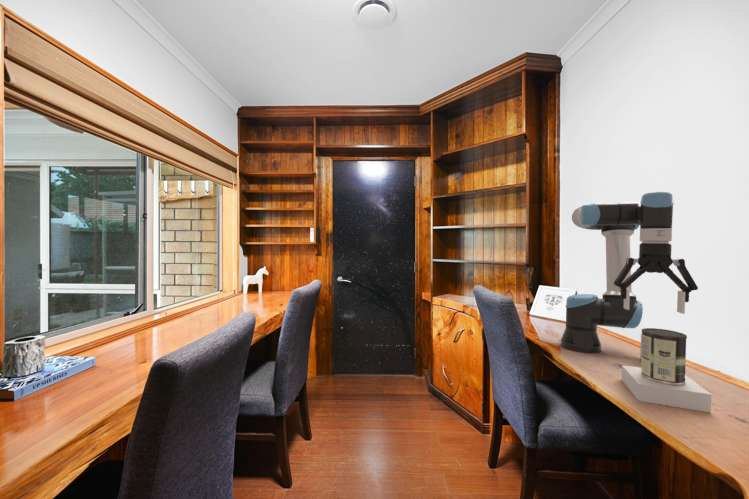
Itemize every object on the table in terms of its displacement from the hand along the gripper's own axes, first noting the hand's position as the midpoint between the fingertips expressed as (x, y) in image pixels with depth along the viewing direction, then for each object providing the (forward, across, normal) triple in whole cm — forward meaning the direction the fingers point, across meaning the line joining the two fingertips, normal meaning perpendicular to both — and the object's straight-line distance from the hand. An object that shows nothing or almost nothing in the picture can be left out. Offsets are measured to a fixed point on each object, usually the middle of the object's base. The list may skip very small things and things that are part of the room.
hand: (652, 310), depth 102 cm
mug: (+26, +12, +29) cm, 41 cm away
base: (+25, +2, -2) cm, 25 cm away
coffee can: (+20, +2, -2) cm, 20 cm away
